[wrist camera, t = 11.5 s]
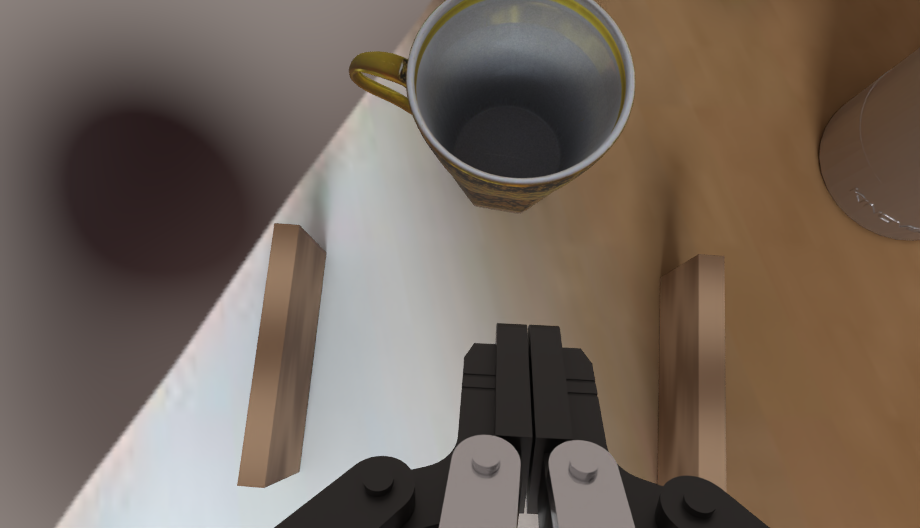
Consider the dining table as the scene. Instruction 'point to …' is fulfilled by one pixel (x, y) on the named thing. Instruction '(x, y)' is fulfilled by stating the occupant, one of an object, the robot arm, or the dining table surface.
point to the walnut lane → (680, 365)
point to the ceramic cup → (512, 93)
